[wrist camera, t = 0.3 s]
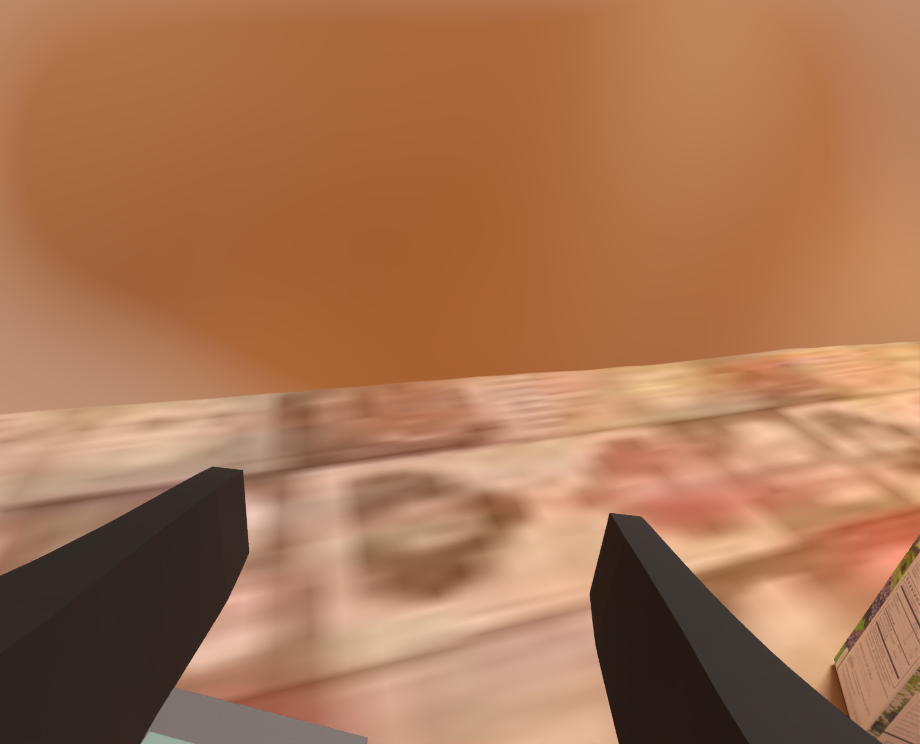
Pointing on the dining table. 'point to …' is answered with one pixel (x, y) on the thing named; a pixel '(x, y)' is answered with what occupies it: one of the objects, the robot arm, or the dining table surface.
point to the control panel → (237, 724)
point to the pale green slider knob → (161, 739)
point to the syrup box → (887, 659)
